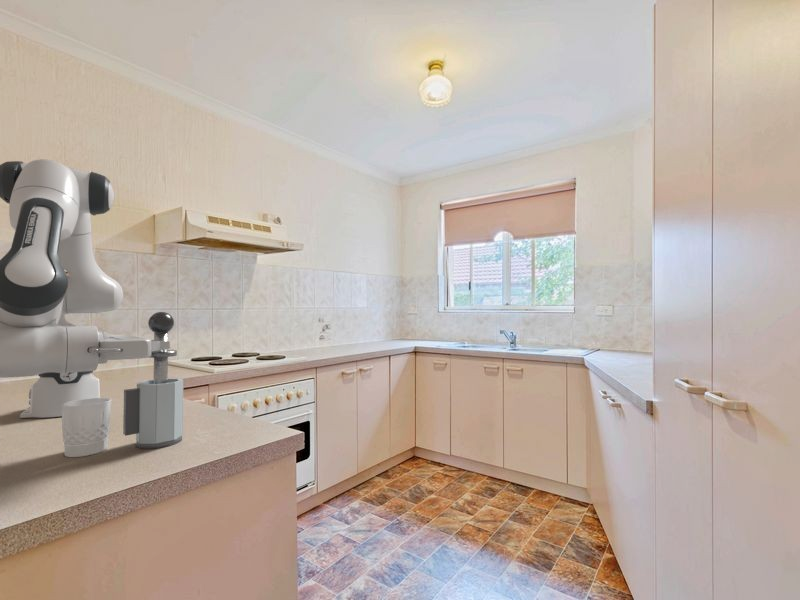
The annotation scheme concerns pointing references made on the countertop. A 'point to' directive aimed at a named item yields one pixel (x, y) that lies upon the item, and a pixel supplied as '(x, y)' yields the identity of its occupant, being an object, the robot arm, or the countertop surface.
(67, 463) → the countertop surface
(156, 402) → the grey faceted holder
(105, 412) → the white cup
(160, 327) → the plunger
